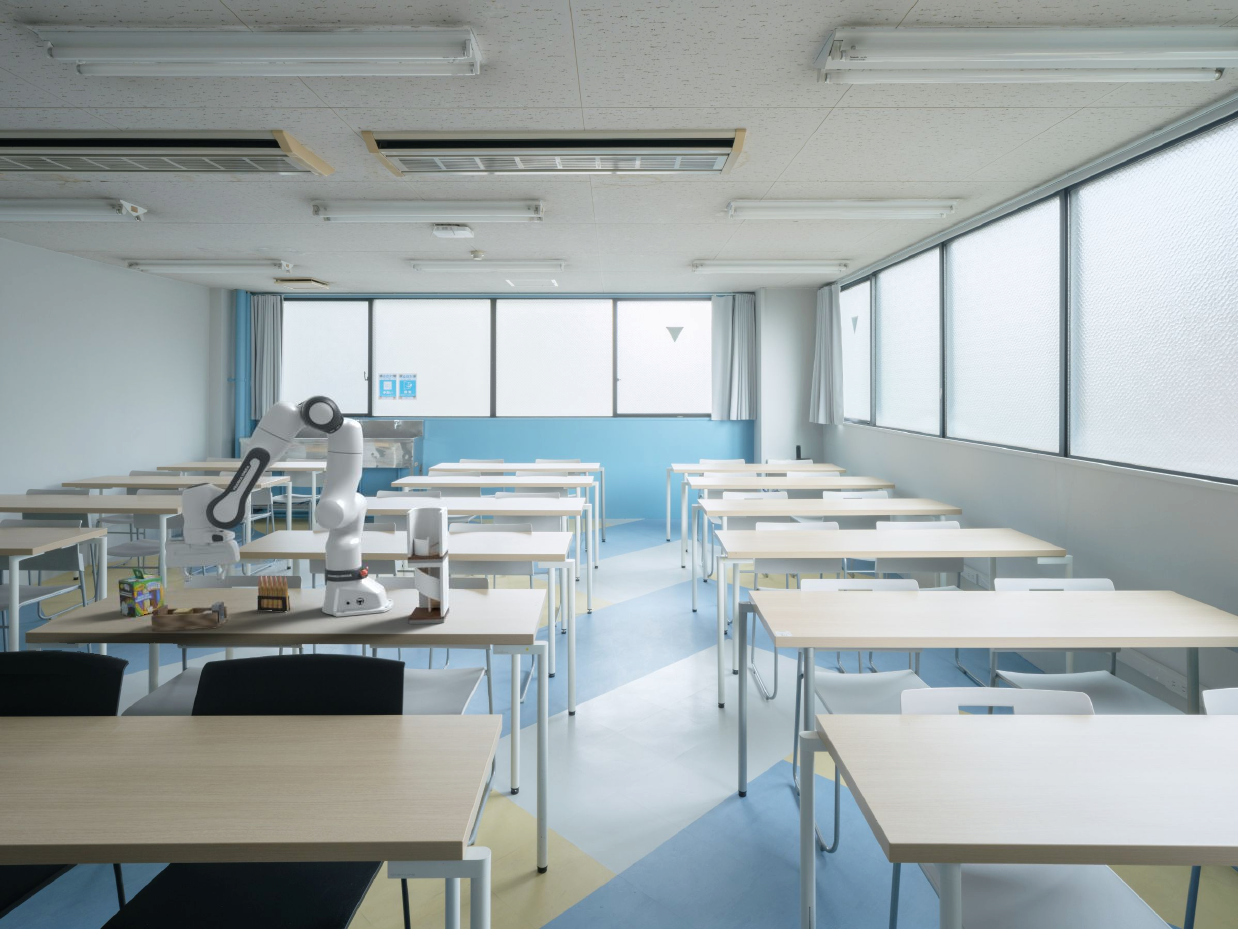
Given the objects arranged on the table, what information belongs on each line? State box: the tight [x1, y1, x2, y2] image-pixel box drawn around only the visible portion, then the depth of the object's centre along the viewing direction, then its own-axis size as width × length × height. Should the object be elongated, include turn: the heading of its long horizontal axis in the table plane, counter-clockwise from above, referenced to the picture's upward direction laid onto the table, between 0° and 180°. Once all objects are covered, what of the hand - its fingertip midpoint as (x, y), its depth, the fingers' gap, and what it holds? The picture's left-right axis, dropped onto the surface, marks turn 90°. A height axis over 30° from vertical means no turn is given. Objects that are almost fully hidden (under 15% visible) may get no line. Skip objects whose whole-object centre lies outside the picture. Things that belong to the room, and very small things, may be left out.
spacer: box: [173, 607, 194, 615], centre depth 210 cm, size 4×4×4 cm
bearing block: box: [150, 604, 228, 632], centre depth 210 cm, size 18×8×6 cm, turn 100°
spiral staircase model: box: [406, 506, 450, 625], centre depth 217 cm, size 11×11×35 cm
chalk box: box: [118, 567, 165, 618], centre depth 224 cm, size 9×9×15 cm
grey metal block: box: [203, 601, 225, 623], centre depth 211 cm, size 5×4×6 cm
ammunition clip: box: [257, 574, 291, 612], centre depth 226 cm, size 11×2×12 cm, turn 81°
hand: (204, 580), depth 210 cm, fingers open, 8 cm apart
